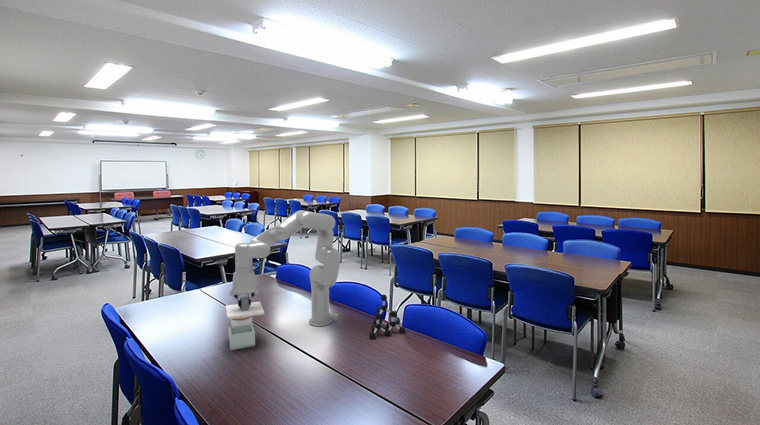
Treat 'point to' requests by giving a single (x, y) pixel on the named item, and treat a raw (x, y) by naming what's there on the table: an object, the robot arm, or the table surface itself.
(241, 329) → the pale green open bin
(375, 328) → the molecular model
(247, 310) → the lid
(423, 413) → the table surface
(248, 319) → the lidded jar
